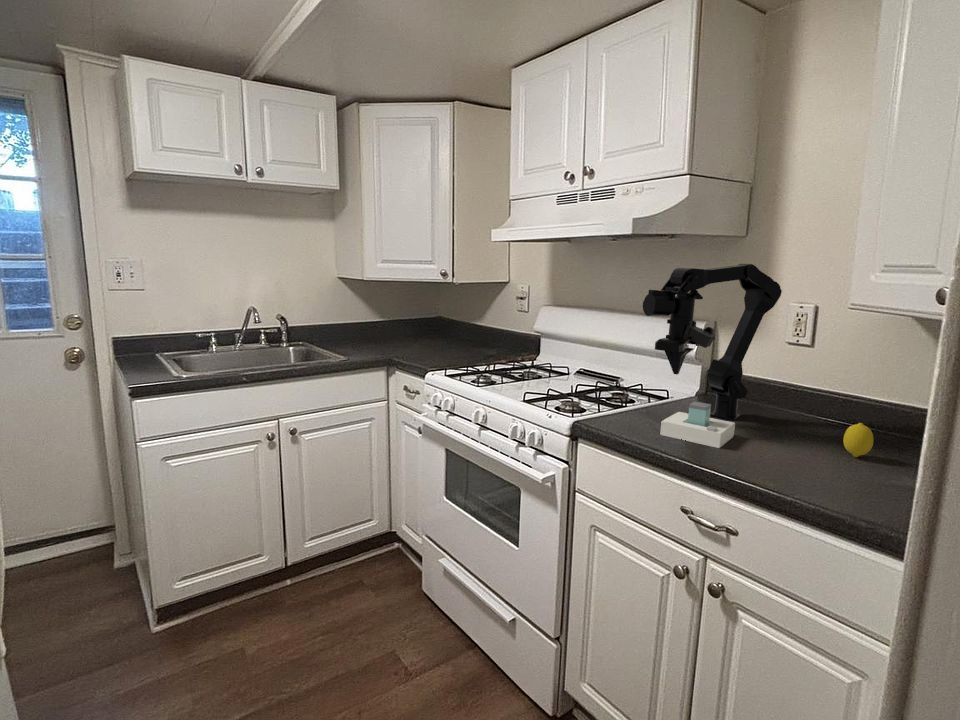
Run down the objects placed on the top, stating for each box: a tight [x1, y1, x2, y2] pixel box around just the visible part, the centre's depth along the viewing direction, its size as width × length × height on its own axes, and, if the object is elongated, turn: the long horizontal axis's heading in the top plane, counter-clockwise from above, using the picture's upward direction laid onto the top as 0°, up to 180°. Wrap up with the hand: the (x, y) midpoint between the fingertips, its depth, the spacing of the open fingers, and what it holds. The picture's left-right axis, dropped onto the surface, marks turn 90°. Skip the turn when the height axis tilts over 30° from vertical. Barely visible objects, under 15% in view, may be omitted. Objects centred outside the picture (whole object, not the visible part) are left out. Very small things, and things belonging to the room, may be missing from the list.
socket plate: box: [659, 411, 736, 449], centre depth 137 cm, size 12×14×4 cm
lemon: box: [843, 422, 874, 458], centre depth 125 cm, size 6×6×8 cm
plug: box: [688, 401, 712, 427], centre depth 137 cm, size 4×4×8 cm
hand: (676, 374), depth 149 cm, fingers closed
